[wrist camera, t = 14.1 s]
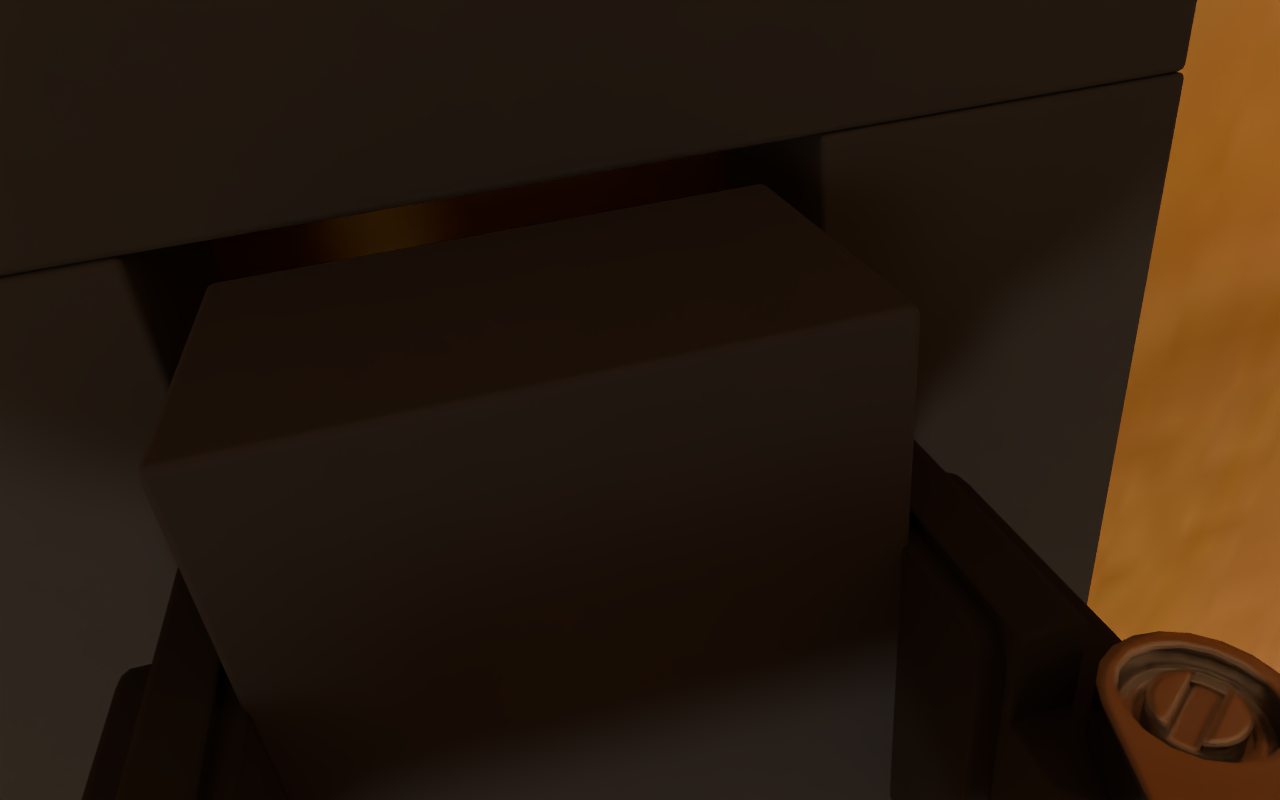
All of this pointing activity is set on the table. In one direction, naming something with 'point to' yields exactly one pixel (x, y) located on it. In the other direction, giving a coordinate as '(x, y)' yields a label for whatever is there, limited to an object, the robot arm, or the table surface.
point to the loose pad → (555, 509)
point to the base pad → (532, 153)
